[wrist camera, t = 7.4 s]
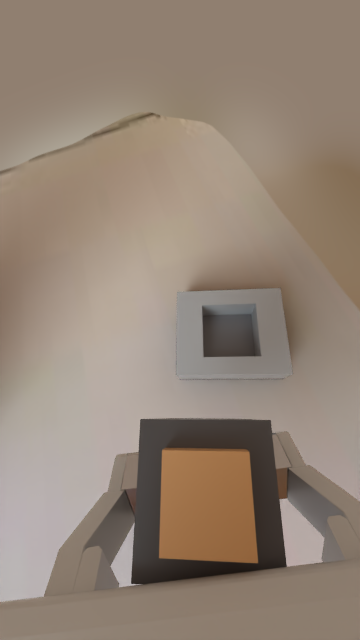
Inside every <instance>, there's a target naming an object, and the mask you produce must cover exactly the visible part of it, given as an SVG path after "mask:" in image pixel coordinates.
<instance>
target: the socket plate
mask: <svg viewBox="0 0 360 640" xmlns="http://www.w3.org/2000/svg"><path fill="white" fill-rule="evenodd" d="M292 374H293V370H292V364H291V357H290V350H289V343H288V336H287V329H286V322H285V316H284V309H283V302H282V295H281V288H265V289H239V290H214V291H188V292H177V336H176V375H177V377H178V378H179V379H180V380H205V379H284V378H286V377H288V376H290V375H292Z"/></svg>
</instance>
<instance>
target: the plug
mask: <svg viewBox="0 0 360 640" xmlns="http://www.w3.org/2000/svg"><path fill="white" fill-rule="evenodd" d="M281 567H287V566H286V557H285V548H284V539H283V529H282V520H281V511H280V502H279V493H278V483H277V474H276V465H275V456H274V447H273V437H272V428H271V420H252V419H194V418H166V419H141V420H140V438H139V455H138V473H137V491H136V508H135V526H134V543H133V561H132V578H131V584H151V583H159V582H167V581H175V580H183V579H192V578H200V577H208V576H216V575H224V574H232V573H241V572H249V571H257V570H265V569H273V568H281Z"/></svg>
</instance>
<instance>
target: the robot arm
mask: <svg viewBox="0 0 360 640" xmlns="http://www.w3.org/2000/svg"><path fill="white" fill-rule="evenodd" d="M272 437H273V447H274V456H275V465H276V474H277V483H278V493H279V499H286V498H288V500H289V501H290V503H291V504H292V505H293V506H294V507H295V508H296V509H297V510H298V511H299V512H300V513H301V514H302V515H303V516H304V517H305V518H306V519H307V520H308V521H309V522H310V523H311V524H312V525H313V526H314V527H315V528H316V529H317V530H318V531H319V532H320V533H321V534H322V535H323V536H324V537H325V539H324V546H323V553H322V561H323V562H322V563H314V564H306V565H298V566H290V567H281V568H273V569H265V570H257V571H249V572H241V573H232V574H224V575H216V576H208V577H200V578H192V579H183V580H175V581H167V582H159V583H151V584H143V585H135V586H127V587H119V583H118V581H117V579H116V577H115V575H114V573H113V571H112V569H111V567H110V566H111V564H112V562H113V560H114V558H115V556H116V555H117V553H118V551H119V549H120V547H121V545H122V544H123V542H124V540H125V538H126V536H127V534H128V533H129V531H130V529H131V527H132V525H133V523H134V522H135V508H136V491H137V473H138V455H139V452H135V453H127V454H119V455H117V456H116V458H115V461H114V466H113V470H112V475H111V479H110V484H109V488H108V492H107V493H104V494H103V495H102V496H101V498H100V499H99V500H98V501H97V503H96V504H95V505H94V506H93V508H92V509H91V510H90V511H89V513H88V514H87V515H86V516H85V518H84V519H83V520H82V522H81V523H80V524H79V525H78V527H77V528H76V529H75V530H74V532H73V533H72V534H71V535H70V537H69V538H68V539H67V540H66V542H65V543H64V544H63V545H62V547H61V548H60V549H59V552H58V555H57V558H56V561H55V564H54V567H53V570H52V573H51V576H50V579H49V582H48V585H47V588H46V591H45V594H44V597H37V598H29V599H21V600H13V601H5V602H0V640H360V501H358V500H357V499H355V498H354V497H353V496H351V495H350V494H349V493H347V492H346V491H344V490H343V489H342V488H340V487H339V486H338V485H336V484H335V483H333V482H332V481H331V480H329V479H328V478H327V477H325V476H324V475H322V474H321V473H320V472H318V471H317V470H316V469H314V468H313V467H311V466H310V465H307V466H306V464H305V463H304V461H303V459H302V457H301V455H300V453H299V451H298V449H297V447H296V446H295V444H294V442H293V440H292V438H291V436H290V434H289V433H288V432H287V431H286V432H279V433H272Z"/></svg>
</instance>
